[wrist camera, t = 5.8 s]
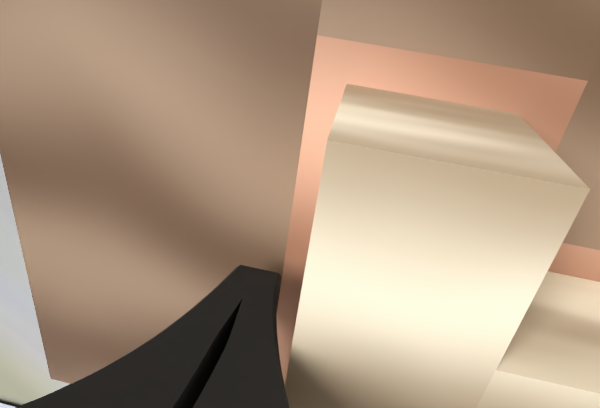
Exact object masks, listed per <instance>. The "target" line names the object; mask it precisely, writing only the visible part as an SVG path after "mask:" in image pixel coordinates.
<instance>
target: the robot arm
mask: <svg viewBox="0 0 600 408" xmlns="http://www.w3.org/2000/svg"><path fill="white" fill-rule="evenodd" d="M281 279H282V277H281V276H280V274H279V273H276V272H272V271H267V270H263V269H258V268H253V267H249V266H244V265H239V266H237V267H236V268H235V269H234V270H233V271H232V272H231V273H230V274H229V275H228V276H227V277H226V278H225V279H224V280H223V281H222V282H221V283H220V284H219V285H218V286H217V287H216V288H215V289H213V290H212V291H211V292H210V293H209V294H208V295H207V296H206V297H204V298H203V299H202V300H201V301H200V302H199V303H197V304H196V305H195V306H194V307H193V308H192V309H190V310H189V311H188V312H187V313H185V314H184V315H183V316H181V317H180V318H179V319H178V320H176V321H175V322H174V323H172V324H171V325H170V326H168V327H167V328H166V329H164V330H163V331H162V332H160V333H159V334H157V335H156V336H154V337H153V338H152V339H150V340H149V341H147V342H145V343H144V344H142V345H141V346H139V347H138V348H136V349H135V350H133V351H131V352H130V353H128V354H126V355H125V356H123V357H121V358H119V359H118V360H116V361H114V362H113V363H111V364H109V365H107V366H105V367H104V368H102V369H100V370H98V371H96V372H94V373H92V374H90V375H88V376H86V377H84V378H82V379H80V380H78V381H76V382H74V383H72V384H70V385H68V386H66V387H63V388H61V389H59V390H57V391H55V392H53V393H50V394H48V395H46V396H43V397H41V398H39V399H36V400H34V401H31V402H29V403H26V404H23V405H21V406H18V407H14V406H10V405H7V404H3V403H0V408H290V407H289V403H288V399H287V394H286V390H285V385H284V380H283V375H282V369H281V363H280V355H279V347H278V337H277V317H276V314H277V307H278V300H279V293H280V286H281Z"/></svg>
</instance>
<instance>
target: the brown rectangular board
mask: <svg viewBox="0 0 600 408" xmlns="http://www.w3.org/2000/svg"><path fill="white" fill-rule="evenodd" d="M346 84H352V85H358V86H364V87H369V88H375V89H381V90H387V91H392V92H398V93H404V94H409V95H415V96H421V97H426V98H432V99H438V100H444V101H449V102H455V103H461V104H466V105H472V106H478V107H483V108H489V109H495V110H501V111H506V112H512V113H518V114H519V115H520V116H521V117H522V118H523V119H524V120H525V121H526V122H527V123H528V124H529V125H530V126H531V127H532V129H533V130H534V131H535V132H536V133H537V134H538V135H539V136H540V137H541V138H542V139H543V140H544V141H545V142H546V143H547V144H548V145H549V146H550V147H551V148H552V150H553V151H554V152H555V153H556V154H557V155H558V156H559V157H560V158H561V159H562V160H563V161H564V162H565V163H566V164H567V165H568V166H569V167H570V168H571V169H572V171H573V172H574V173H575V174H576V175H577V176H578V177H579V178H580V179H581V180H582V181H583V182H584V183H585V184H586V185H587V186H588V187H589V188H590V191H589V193H588V195H587V197H586V198H585V200H584V202H583V204H582V206H581V208H580V210H579V212H578V214H577V216H576V218H575V219H574V221H573V223H572V225H571V227H570V229H569V231H568V233H567V235H566V237H565V239H564V241H563V242H562V244H561V246H560V248H559V250H558V252H557V254H556V256H555V258H554V260H553V262H552V264H551V265H550V267H549V269H548V271H549V272H553V273H558V274H563V275H568V276H573V277H578V278H583V279H587V280H592V281H597V282H600V0H0V154H1V158H2V163H3V167H4V172H5V176H6V181H7V185H8V190H9V194H10V199H11V203H12V207H13V212H14V216H15V221H16V225H17V230H18V234H19V239H20V243H21V248H22V252H23V257H24V261H25V265H26V270H27V274H28V279H29V283H30V288H31V292H32V297H33V301H34V306H35V310H36V315H37V319H38V324H39V328H40V332H41V337H42V341H43V346H44V350H45V355H46V359H47V364H48V368H49V373H50V377H51V379H55V380H59V381H63V382H67V383H70V384H72V383H74V382H76V381H78V380H80V379H82V378H84V377H86V376H88V375H90V374H92V373H94V372H96V371H98V370H100V369H102V368H104V367H105V366H107V365H109V364H111V363H113V362H114V361H116V360H118V359H119V358H121V357H123V356H125V355H126V354H128V353H130V352H131V351H133V350H135V349H136V348H138V347H139V346H141V345H142V344H144V343H145V342H147V341H149V340H150V339H152V338H153V337H154V336H156V335H157V334H159V333H160V332H162V331H163V330H164V329H166V328H167V327H168V326H170V325H171V324H172V323H174V322H175V321H176V320H178V319H179V318H180V317H181V316H183V315H184V314H185V313H187V312H188V311H189V310H190V309H192V308H193V307H194V306H195V305H196V304H197V303H199V302H200V301H201V300H202V299H203V298H204V297H206V296H207V295H208V294H209V293H210V292H211V291H212V290H213V289H215V288H216V287H217V286H218V285H219V284H220V283H221V282H222V281H223V280H224V279H225V278H226V277H227V276H228V275H229V274H230V273H231V272H232V271H233V270H234V269H235V268H236V267H237V266H239V265H244V266H249V267H253V268H258V269H263V270H267V271H272V272H276V273H279V274H280V276H281V277H282V279H281V286H280V293H279V300H278V307H277V314H276V317H277V337H278V347H279V355H280V363H281V369H282V375H283V380H284V385H285V382H286V376H287V370H288V364H289V358H290V353H291V347H292V341H293V335H294V330H295V324H296V318H297V312H298V306H299V301H300V295H301V289H302V283H303V277H304V272H305V266H306V260H307V254H308V249H309V243H310V237H311V231H312V225H313V220H314V214H315V208H316V202H317V196H318V191H319V185H320V179H321V173H322V167H323V162H324V156H325V150H326V144H327V139H328V136H329V133H330V131H331V128H332V125H333V122H334V119H335V116H336V113H337V110H338V108H339V105H340V102H341V99H342V96H343V93H344V90H345V87H346Z"/></svg>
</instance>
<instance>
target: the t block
mask: <svg viewBox="0 0 600 408" xmlns="http://www.w3.org/2000/svg"><path fill="white" fill-rule="evenodd" d="M589 191H590V188H589V187H588V186H587V185H586V184H585V183H584V182H583V181H582V180H581V179H580V178H579V177H578V176H577V175H576V174H575V173H574V172H573V171H572V169H571V168H570V167H569V166H568V165H567V164H566V163H565V162H564V161H563V160H562V159H561V158H560V157H559V156H558V155H557V154H556V153H555V152H554V151H553V150H552V148H551V147H550V146H549V145H548V144H547V143H546V142H545V141H544V140H543V139H542V138H541V137H540V136H539V135H538V134H537V133H536V132H535V131H534V130H533V129H532V127H531V126H530V125H529V124H528V123H527V122H526V121H525V120H524V119H523V118H522V117H521V116H520V115H519V114H518V113H512V112H506V111H501V110H495V109H489V108H483V107H478V106H472V105H466V104H461V103H455V102H449V101H444V100H438V99H432V98H426V97H421V96H415V95H409V94H404V93H398V92H392V91H387V90H381V89H375V88H369V87H364V86H358V85H352V84H346V87H345V90H344V93H343V96H342V99H341V102H340V105H339V108H338V110H337V113H336V116H335V119H334V122H333V125H332V128H331V131H330V133H329V136H328V139H327V144H326V150H325V156H324V162H323V167H322V173H321V179H320V185H319V191H318V196H317V202H316V208H315V214H314V220H313V225H312V231H311V237H310V243H309V249H308V254H307V260H306V266H305V272H304V277H303V283H302V289H301V295H300V301H299V306H298V312H297V318H296V324H295V330H294V335H293V341H292V347H291V353H290V358H289V364H288V370H287V376H286V382H285V390H286V394H287V399H288V403H289V407H290V408H600V282H597V281H592V280H587V279H583V278H578V277H573V276H568V275H563V274H558V273H553V272H549V271H548V269H549V267H550V265H551V264H552V262H553V260H554V258H555V256H556V254H557V252H558V250H559V248H560V246H561V244H562V242H563V241H564V239H565V237H566V235H567V233H568V231H569V229H570V227H571V225H572V223H573V221H574V219H575V218H576V216H577V214H578V212H579V210H580V208H581V206H582V204H583V202H584V200H585V198H586V197H587V195H588V193H589Z"/></svg>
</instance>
